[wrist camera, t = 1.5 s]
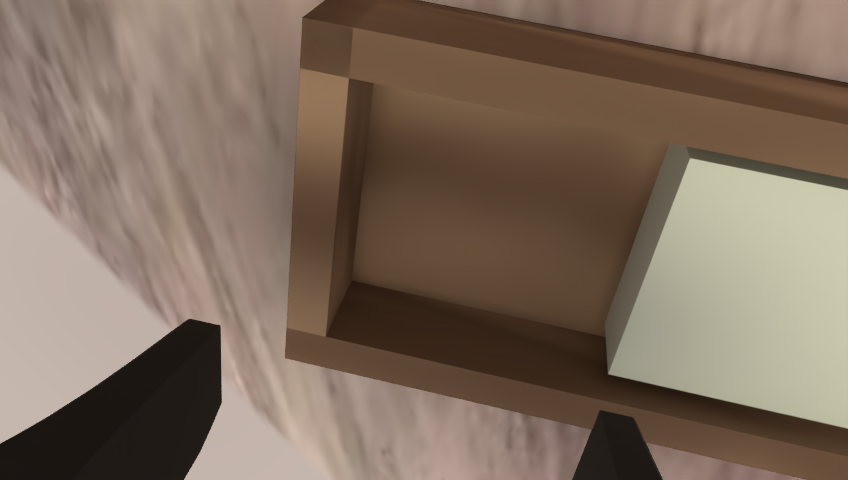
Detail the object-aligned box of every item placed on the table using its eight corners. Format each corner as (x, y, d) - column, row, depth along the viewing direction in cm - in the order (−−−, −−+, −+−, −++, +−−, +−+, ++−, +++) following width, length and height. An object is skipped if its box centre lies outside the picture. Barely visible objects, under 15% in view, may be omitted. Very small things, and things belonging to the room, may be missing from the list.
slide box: (846, 411, 23) (885, 498, 20) (319, 292, 25) (285, 358, 22) (1035, 118, 18) (1127, 179, 15) (343, -14, 19) (302, 17, 16)
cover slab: (860, 380, 22) (888, 437, 20) (604, 323, 23) (607, 374, 21) (986, 182, 18) (1038, 228, 16) (677, 121, 19) (690, 158, 17)
